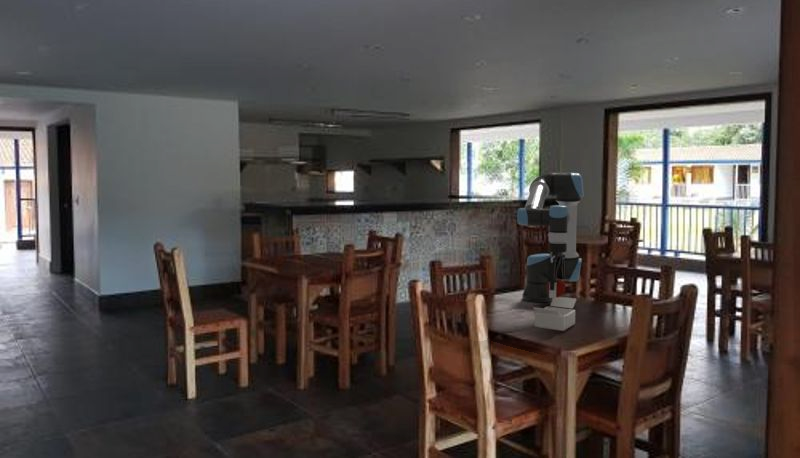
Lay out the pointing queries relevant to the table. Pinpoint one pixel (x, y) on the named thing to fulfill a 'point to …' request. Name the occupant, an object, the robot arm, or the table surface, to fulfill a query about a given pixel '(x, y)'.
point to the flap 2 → (563, 302)
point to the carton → (555, 319)
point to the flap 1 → (547, 311)
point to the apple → (558, 287)
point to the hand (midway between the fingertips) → (555, 296)
